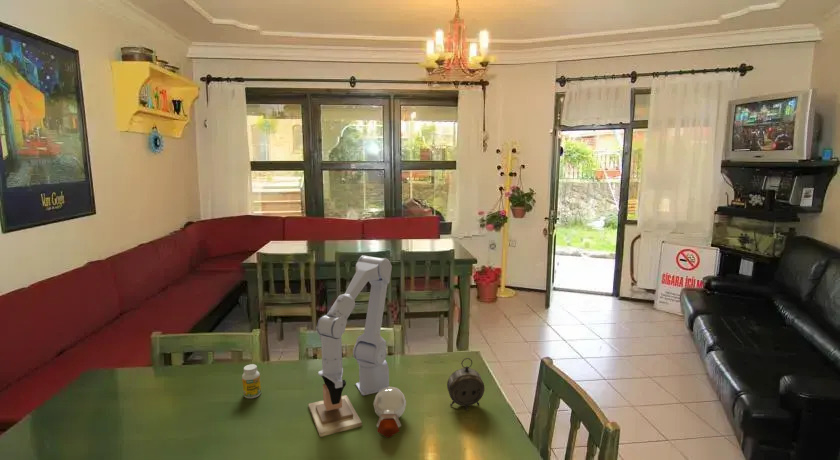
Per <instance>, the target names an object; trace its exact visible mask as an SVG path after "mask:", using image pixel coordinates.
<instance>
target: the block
mask: <svg viewBox="0 0 840 460" xmlns="http://www.w3.org/2000/svg"><path fill="white" fill-rule="evenodd" d="M322 394H323V395H322V396H323V397H322V398H323V400H322V401H324V405H325V408H326V410H327V411H329V410H333V409H337V408H342V396H343V394H341V399H340V403H338V404H334V405H333V404H332V402H331V398H330V393H329V390H328V388H327V386H326V384H325V383H324V384H322Z"/></svg>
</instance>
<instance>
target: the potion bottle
mask: <svg viewBox="0 0 840 460" xmlns="http://www.w3.org/2000/svg"><path fill="white" fill-rule="evenodd" d="M406 406H407V401H406V397H405V394H404V393H403V392H402V391H401V390H400V389H399V387H394V386H390V385H389V387H385V388H382V389H381V390H380V391H379V392H377V393H376V395H375V397H374V400H373V408H374V413H375V414H376V415H377V416H378V421H377V423H376V427H377V430H376V432H377V433H378V434H380V435H382V436H384V437H385V438H388V439H390V438H392V437H393V436H395V435H396V434H397V433H400V428H401V427H402V424H401V421H400V419H399V418H400V417H401V416H402V415H403V414H404V413H405V409H406Z"/></svg>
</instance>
